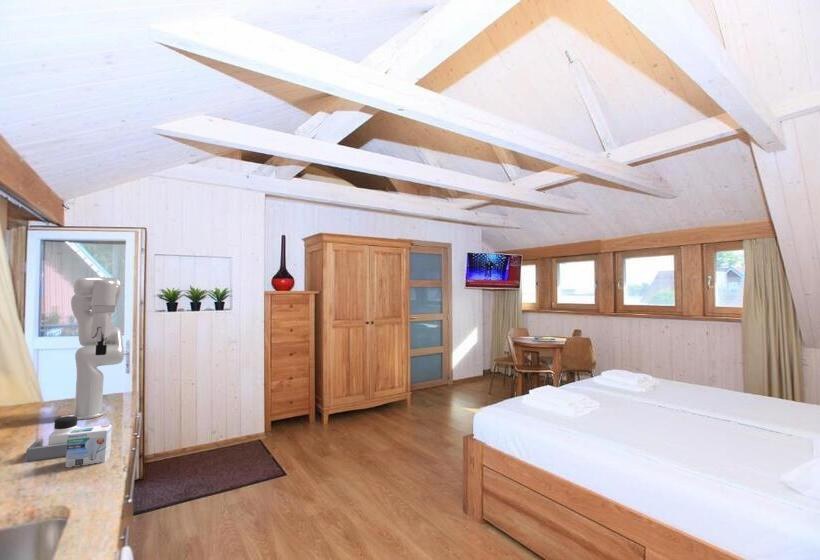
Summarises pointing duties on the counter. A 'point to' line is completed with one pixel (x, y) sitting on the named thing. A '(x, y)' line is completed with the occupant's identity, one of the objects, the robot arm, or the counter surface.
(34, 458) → the bracket
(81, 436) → the light bulb box
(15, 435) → the counter surface
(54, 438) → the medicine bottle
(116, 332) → the robot arm
